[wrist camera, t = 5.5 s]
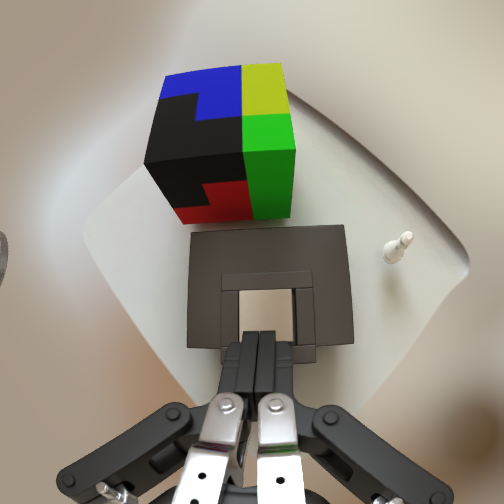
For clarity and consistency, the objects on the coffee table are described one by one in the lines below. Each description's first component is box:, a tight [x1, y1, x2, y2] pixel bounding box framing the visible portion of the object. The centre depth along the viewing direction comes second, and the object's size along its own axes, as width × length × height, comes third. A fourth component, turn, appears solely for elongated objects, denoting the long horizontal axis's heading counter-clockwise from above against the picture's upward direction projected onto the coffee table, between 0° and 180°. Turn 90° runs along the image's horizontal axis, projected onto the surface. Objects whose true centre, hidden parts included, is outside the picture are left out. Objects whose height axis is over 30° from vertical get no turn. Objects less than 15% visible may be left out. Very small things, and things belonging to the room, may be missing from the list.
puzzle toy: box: [144, 63, 296, 225], centre depth 24 cm, size 10×10×10 cm
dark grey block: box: [187, 225, 354, 365], centre depth 22 cm, size 12×10×6 cm
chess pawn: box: [382, 231, 414, 264], centre depth 23 cm, size 3×2×4 cm
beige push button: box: [239, 289, 293, 342], centre depth 18 cm, size 3×3×2 cm
